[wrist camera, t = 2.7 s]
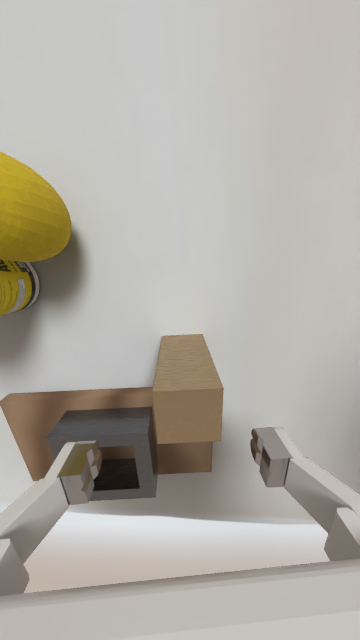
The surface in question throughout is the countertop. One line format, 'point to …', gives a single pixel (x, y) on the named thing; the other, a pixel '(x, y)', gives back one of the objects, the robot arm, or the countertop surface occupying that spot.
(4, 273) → the supplement bottle
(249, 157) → the countertop surface
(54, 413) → the dock board
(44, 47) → the countertop surface
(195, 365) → the square bar
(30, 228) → the lemon
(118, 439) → the collar
